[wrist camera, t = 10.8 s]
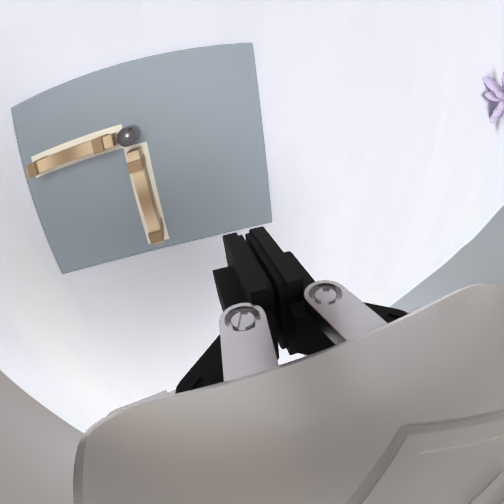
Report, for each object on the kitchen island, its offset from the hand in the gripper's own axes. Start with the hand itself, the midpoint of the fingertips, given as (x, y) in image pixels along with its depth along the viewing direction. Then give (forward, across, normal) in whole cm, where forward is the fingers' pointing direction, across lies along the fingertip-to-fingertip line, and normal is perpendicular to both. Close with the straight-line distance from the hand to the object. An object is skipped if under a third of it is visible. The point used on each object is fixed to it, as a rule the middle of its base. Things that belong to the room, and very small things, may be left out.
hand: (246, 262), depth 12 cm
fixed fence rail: (+21, +13, -5) cm, 25 cm away
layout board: (+22, +6, -2) cm, 23 cm away
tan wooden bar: (+21, +6, +2) cm, 22 cm away
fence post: (+22, +6, -5) cm, 23 cm away
